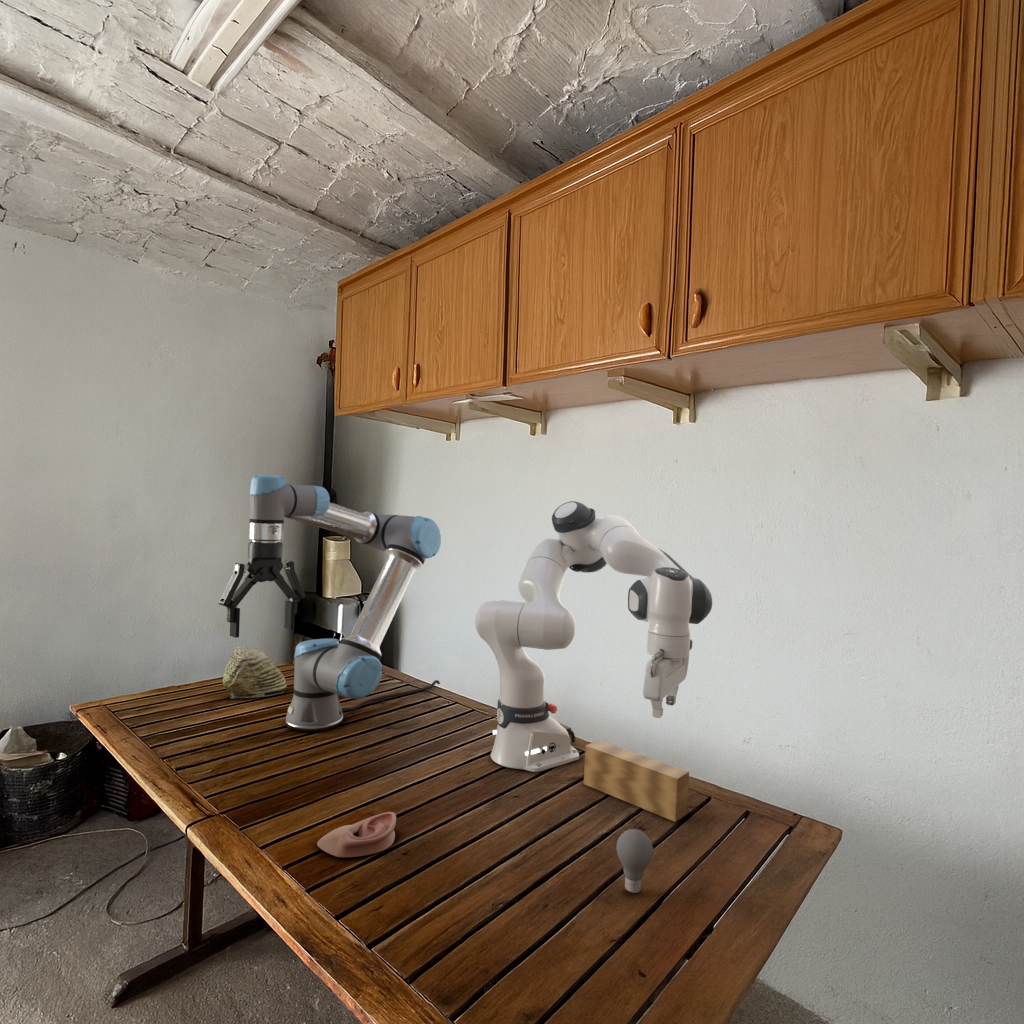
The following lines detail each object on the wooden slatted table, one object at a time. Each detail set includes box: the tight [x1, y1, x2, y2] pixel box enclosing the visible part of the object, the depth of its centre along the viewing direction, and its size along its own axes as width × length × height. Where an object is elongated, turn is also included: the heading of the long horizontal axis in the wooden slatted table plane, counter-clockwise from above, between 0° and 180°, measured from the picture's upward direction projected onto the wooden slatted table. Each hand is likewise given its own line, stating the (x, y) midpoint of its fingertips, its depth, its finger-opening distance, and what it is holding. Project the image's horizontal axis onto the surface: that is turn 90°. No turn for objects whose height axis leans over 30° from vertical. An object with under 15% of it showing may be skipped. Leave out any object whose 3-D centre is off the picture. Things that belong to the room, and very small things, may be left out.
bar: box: [583, 739, 690, 823], centre depth 139 cm, size 23×5×9 cm, turn 48°
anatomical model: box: [316, 811, 397, 858], centre depth 117 cm, size 13×4×12 cm
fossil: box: [222, 646, 288, 699], centre depth 198 cm, size 9×18×15 cm, turn 132°
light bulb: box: [615, 828, 654, 894], centre depth 106 cm, size 6×6×10 cm
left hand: (262, 632), depth 147 cm, fingers open, 13 cm apart
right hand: (664, 710), depth 134 cm, fingers open, 8 cm apart
